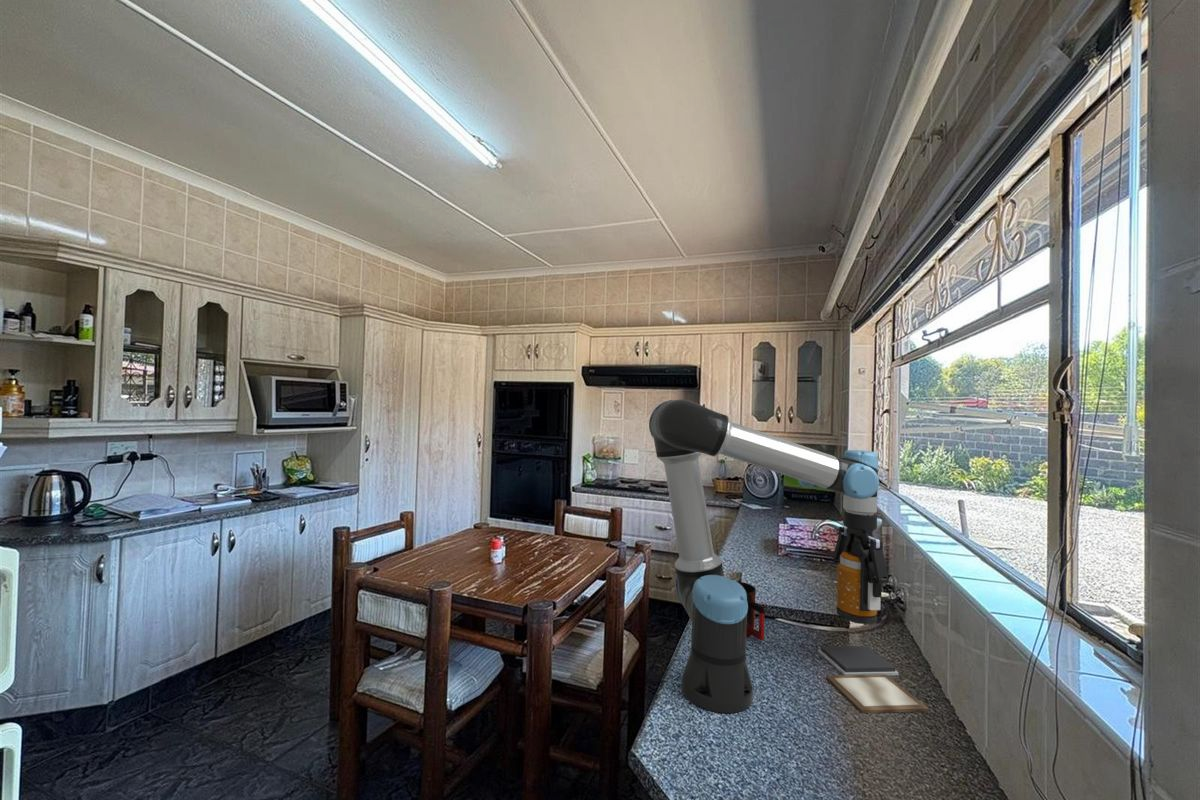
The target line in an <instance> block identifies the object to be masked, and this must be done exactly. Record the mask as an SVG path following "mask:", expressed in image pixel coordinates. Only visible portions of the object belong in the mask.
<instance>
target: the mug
mask: <svg viewBox="0 0 1200 800" xmlns="http://www.w3.org/2000/svg"><path fill="white" fill-rule="evenodd" d="M735 581H736V580H735ZM736 582H738V583H739V584H740V585H741V586H742V587H743V588H744V590H745V591H746V595H747V603H748V612H747V630H746V638H749V637H754V638H756V639H757V640H759V641H761V642H763V641H764V640H765V608H766V606H763V604H762V605H761V604H760V603H757V602H756V596H757V595H756V590H757V589H756V587H755V586H754V585H752V584H750V583H746V582H743V581H736ZM756 612H758V630H757V629H755V628H756V627H755V625H756V624H755V623H756V621H755V620H756Z"/></svg>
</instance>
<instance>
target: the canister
mask: <svg viewBox="0 0 1200 800" xmlns="http://www.w3.org/2000/svg"><path fill="white" fill-rule="evenodd" d="M868 550H870V546H869V548H868ZM860 552H861V554H862V555H861V554H860V553H859V550H858V547H857V544H856V543H855V548H852V546H851V551H850V552H846V551H845V552H842V554H841V555H839V556H840V563H839V564H837V579H836V582H837V583H836V614H837V615H838V616H839V617H841V618H843V619H845V620H846V621H848V622H852V623H855V624H861V625H867V624H874V623H877V622H878V615H877V614H878V610H869V609H868V581H869V580H870V577H869V574H868V571H867V568H866V565H865V562H864V559H865V555H864V553H863V550H862V548H861V547H860Z"/></svg>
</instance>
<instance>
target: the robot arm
mask: <svg viewBox="0 0 1200 800" xmlns="http://www.w3.org/2000/svg"><path fill="white" fill-rule="evenodd" d="M648 429H649V433H650V434H651V436H652V438H653V442H654V447H655V454H656V459H658V460H660V461H661V462H662V463H663V464H664V471H665V477H666V484H667V491H668V496H669V501H670V508H671V514H672V519H673V526H674V532H675V539H676V543H677V549H678V550H677V551H678V556H679V557H678V558H677V560H676V561H675V562H674V570H675V575H676V576H675V583H674V584H675V586H674V587H675V593H676V596H677V598H678V600H679V602H680V603H681V605H682V606H683V608H684V609H685V612H686V613H687V615H688V617H689V619H690V621H691V637H690V638H691V640H690V642H691V643H690V654H689V656H688V658H687V661H686V664H685V667H684V669H683V672H682V675H681V689H682V690H681V691H682V693H683V694H684V696H685V697H686V698H687V699H688V700H689V701H690V702H691V703H692V704H694V705H696V706H699V707H700V708H702V709H705V710H708V711H711V712H715V713H721V714H722V713H723V714H731V713H733V714H734V713H739V712H743V711H746V710H747V709H749V707H751V706H752V704H753V701H754V685H753V682H752V678H751V675H750V672H749V668H748V665H747V662H746V653H747V637H746V630H747V612H748V603H747V595H746V591H745V590H744V588H743V587H742V586H741V585H740V584H739V583H738V582H739V581H738V582H736V580H734V579H731V578H729V577H727V576H725V573H724V567H723V561H722V558H721V557H720V556H718V555H717V554H716V553H715V552H714V545H713V539H712V534H711V528H710V527H711V526H710V522H709V521H710V520H709V516H708V509H707V503H706V497H705V490H704V485H703V479H702V474H701V473H702V472H701V468H700V467H701V466H700V462H699V458H700V456H701V455H702V454H704V455H708V456H711V457H718V456H719V455H722V456H725V457H729V458H731V459H734V460H738V461H741V462H743V463H744V462H745V463H747V464H749V465H750V464H751V465H753V466H756V467H759V468H762V469H765V470H767V471H771V472H774V473H778V474H780V475H783V476H787V477H790V478H793V479H796V481H798V484H799V485H800V486H802V487H807V488H811V489H814V488H819V489H824V490H828V491H831V492H835V493H838V494H841V495H843V498H842V499H843V503H842V507H843V509H844V511H843V512H842V513H843V515H842V516H843V517H842V518H843V519H842V524H843V526H838V537H837V540H836V545H835V548H834V552H833V556H832V560H833V561H836V564H837V565H838V564H839V563H840V555H841V554H842V552H845V551H846V552H850V551H851V546H852V548H855V543H856V544H857V547H858V550H859V553H860V554H861V552H860V547H861V548H862V550H863V553H864V555H865V559H864V562H865V565H866V568H867V571H868V574H869V577H870V580H869V581H868V609H869V610H877V611H881V599H882V595H883V594H882V591H883V590H882V588H883V587H882V586H883V584H888V583H890V577H889V575H888V574H889V573H888V569H887V565H886V560H885V553H884V549H883V548H884V546H883V545H884V541H883V539H881V538H875V537H874V534H873V532H874V531H875V530H877V529H878V515H877V514H876V513H877V512H878V493H879V492H878V491H879V490H878V488H879V485H880V479H879V470H880V469H879V459H878V458H879V457H878V454H877V453H876V452H874V451H871V450H862V449H861V450H860V449H859V450H858V449H847V450H845V451H844V454H843V457H838V456H834V455H831V454H829V453H825V452H822V451H819V450H817V449H814V448H811V447H808V446H804V445H802V444H799V443H795V442H793V441H790V440H787V439H784V438H781V437H777V436H774V435H771V434H769V433H766V432H762V431H759V430H756V429H753V428H751V427H747V426H744V425H742V424H739V423H736V422H734V421H733V422H732V421H731V419H730V417H729V416H728V415H726V414H723V413H720V412H717V411H715V410H713V409H711V408H707V407H705V406H704V405H702V404H699V403H697V402H695V401H692V400H689V399H672V400H671V399H670V400H667V401H663V402H661V403H659V405H657V406H656V407H655V408H654V410H653V411H652V412H651V414H650V418H649V421H648ZM869 546H870V550H868V548H869ZM861 555H862V554H861Z"/></svg>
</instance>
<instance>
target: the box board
mask: <svg viewBox="0 0 1200 800" xmlns="http://www.w3.org/2000/svg"><path fill="white" fill-rule="evenodd" d="M825 679H826V680H827V681H828V682H829V683H830V684H831V685H832V686H833V687H834V688H835V689H836V690H837V691H838V692H840V694H841V695H843V696H844V698H846V699H847V700H848V701H849V702H850V704H852V705H853V706H854V707H855V708H856V709H857V710H858V711H859V712H860V713H861V714H881V713H882V714H883V713H886V714H887V713H915V712H919V713H921V712H930V708H929V707H928V706H927V705H925V704H924V703H923V702H922V701H920V700H919V699H918V698H916V697H915V696H914V695H913V694H911V693H910V692H909V691H908V690H906V689H905V688H904V687H902V685H900V684H899V683H897V682H896V681H895V680H894V679H892V678H891V677H890V676H889V675H843V674H842V675H825Z"/></svg>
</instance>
